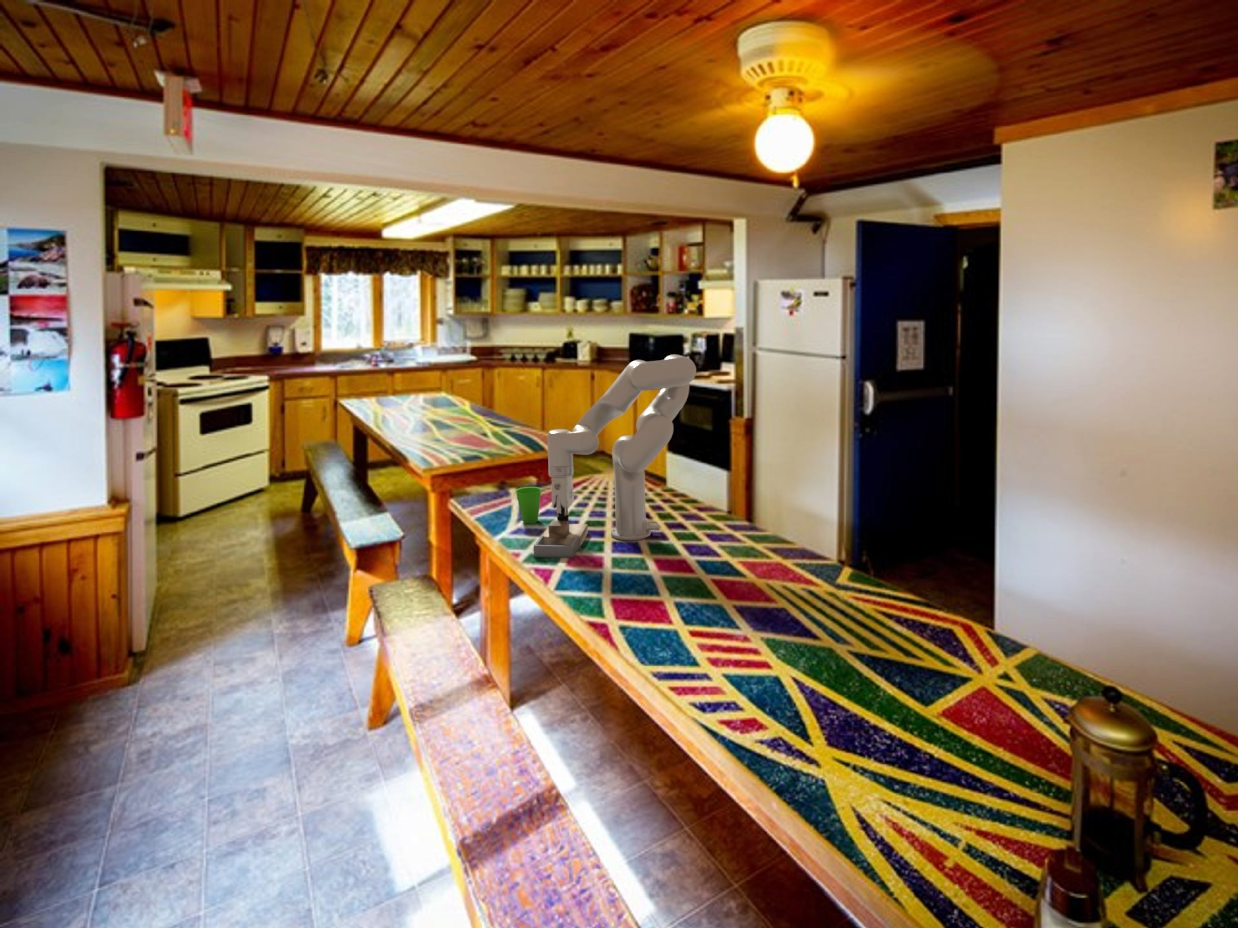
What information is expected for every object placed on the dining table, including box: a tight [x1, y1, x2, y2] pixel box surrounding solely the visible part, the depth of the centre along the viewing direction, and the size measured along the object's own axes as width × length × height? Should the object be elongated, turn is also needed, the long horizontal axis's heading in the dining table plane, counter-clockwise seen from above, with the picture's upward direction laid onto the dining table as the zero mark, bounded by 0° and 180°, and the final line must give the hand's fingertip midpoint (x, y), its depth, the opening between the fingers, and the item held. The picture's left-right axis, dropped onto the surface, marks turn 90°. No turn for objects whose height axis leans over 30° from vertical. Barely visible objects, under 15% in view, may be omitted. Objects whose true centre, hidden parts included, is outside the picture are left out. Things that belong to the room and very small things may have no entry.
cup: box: [514, 486, 543, 524], centre depth 243 cm, size 9×9×11 cm
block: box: [547, 520, 570, 539], centre depth 218 cm, size 5×5×4 cm
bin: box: [533, 534, 580, 559], centre depth 213 cm, size 12×9×4 cm
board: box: [542, 523, 589, 548], centre depth 224 cm, size 12×13×3 cm
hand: (563, 527), depth 223 cm, fingers closed
